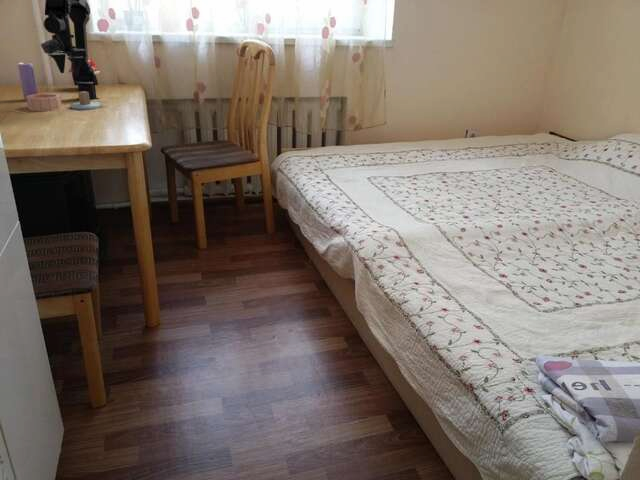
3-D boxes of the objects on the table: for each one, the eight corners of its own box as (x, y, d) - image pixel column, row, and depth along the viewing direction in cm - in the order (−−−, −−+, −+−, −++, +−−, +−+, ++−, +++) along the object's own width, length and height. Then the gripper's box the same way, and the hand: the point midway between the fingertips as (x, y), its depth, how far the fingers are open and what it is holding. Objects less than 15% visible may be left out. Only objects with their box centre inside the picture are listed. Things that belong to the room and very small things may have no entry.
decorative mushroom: (70, 88, 259) (65, 55, 252) (101, 87, 264) (96, 55, 258) (71, 92, 247) (66, 58, 241) (103, 91, 253) (99, 58, 246)
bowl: (50, 105, 218) (48, 92, 216) (68, 108, 213) (66, 95, 210) (22, 109, 209) (19, 96, 207) (40, 113, 203) (38, 99, 201)
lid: (88, 103, 221) (86, 89, 219) (106, 107, 216) (104, 92, 214) (64, 107, 213) (62, 92, 210) (82, 110, 208) (79, 95, 205)
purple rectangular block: (33, 101, 224) (26, 64, 218) (21, 100, 225) (13, 63, 219) (43, 99, 229) (36, 63, 223) (30, 98, 231) (24, 62, 224)
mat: (90, 104, 222) (90, 103, 221) (106, 107, 217) (106, 106, 217) (64, 108, 212) (64, 107, 212) (80, 111, 208) (80, 110, 207)
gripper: (28, 31, 200) (36, 73, 207) (56, 34, 191) (63, 78, 198) (56, 30, 209) (62, 71, 215) (84, 33, 199) (90, 76, 206)
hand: (69, 74), depth 208 cm, fingers open, 9 cm apart
